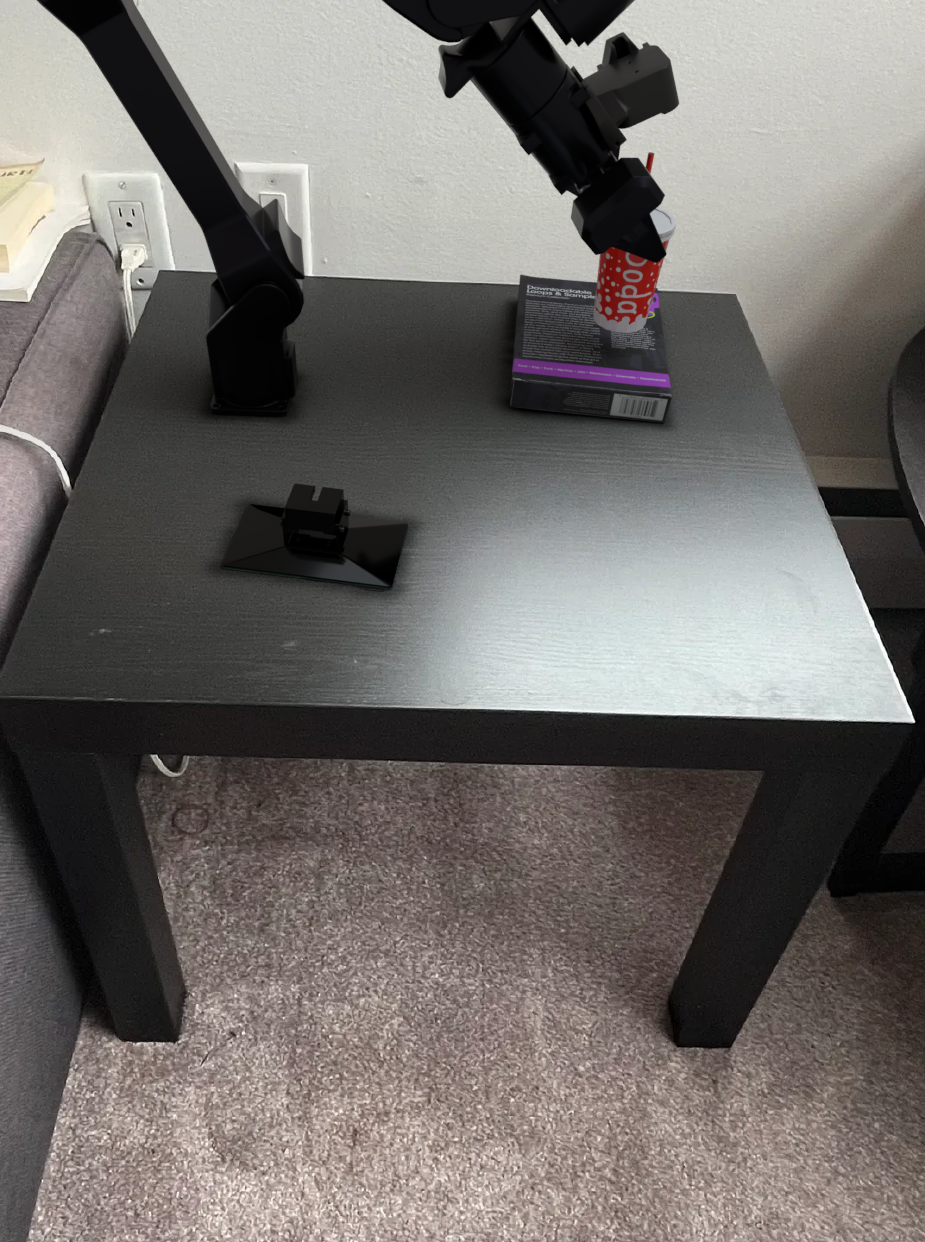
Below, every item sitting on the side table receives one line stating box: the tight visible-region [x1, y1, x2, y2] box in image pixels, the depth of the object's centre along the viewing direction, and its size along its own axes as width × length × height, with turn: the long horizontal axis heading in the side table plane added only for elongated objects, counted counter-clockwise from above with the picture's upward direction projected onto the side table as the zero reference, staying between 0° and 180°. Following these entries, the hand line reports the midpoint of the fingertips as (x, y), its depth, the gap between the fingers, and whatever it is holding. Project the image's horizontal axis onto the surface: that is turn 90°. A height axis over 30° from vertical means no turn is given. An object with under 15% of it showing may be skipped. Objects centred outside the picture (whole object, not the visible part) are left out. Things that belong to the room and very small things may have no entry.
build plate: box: [221, 483, 409, 592], centre depth 71 cm, size 12×7×5 cm, turn 83°
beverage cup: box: [594, 152, 677, 333], centre depth 81 cm, size 6×6×14 cm
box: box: [509, 274, 673, 424], centre depth 91 cm, size 14×4×20 cm
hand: (650, 240), depth 81 cm, fingers closed on beverage cup, 6 cm apart
